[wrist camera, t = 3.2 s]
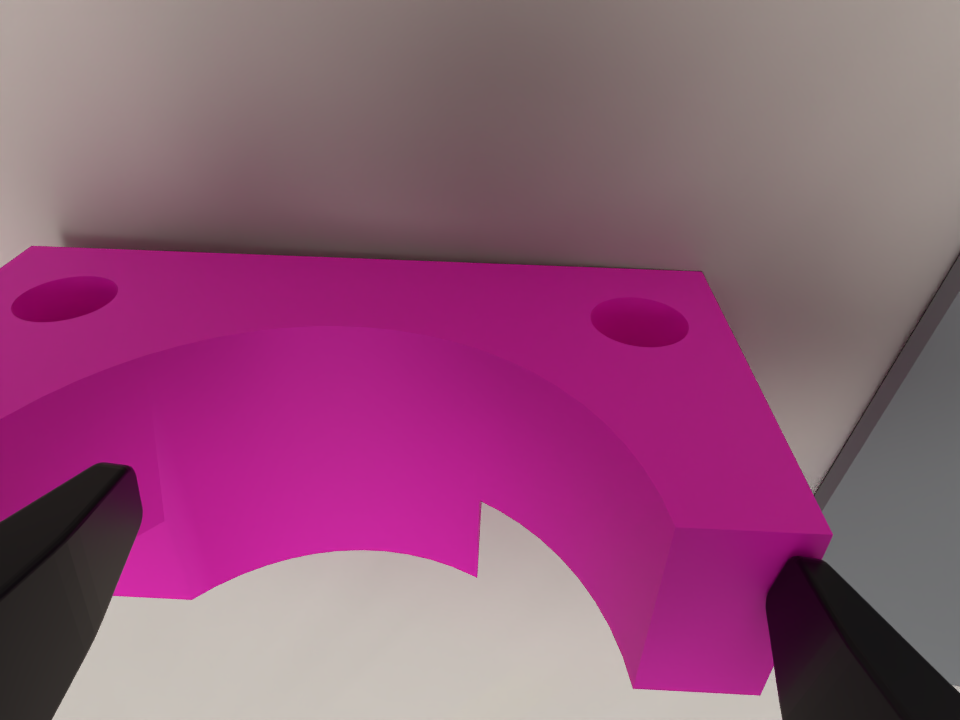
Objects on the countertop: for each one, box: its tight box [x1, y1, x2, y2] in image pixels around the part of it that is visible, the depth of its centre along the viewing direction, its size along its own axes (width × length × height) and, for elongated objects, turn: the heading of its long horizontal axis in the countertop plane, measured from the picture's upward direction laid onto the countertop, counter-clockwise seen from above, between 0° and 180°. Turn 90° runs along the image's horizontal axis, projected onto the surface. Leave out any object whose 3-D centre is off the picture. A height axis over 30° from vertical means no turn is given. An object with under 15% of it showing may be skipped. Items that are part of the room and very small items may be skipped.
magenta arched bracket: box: [0, 246, 833, 695], centre depth 14 cm, size 15×6×8 cm, turn 89°
